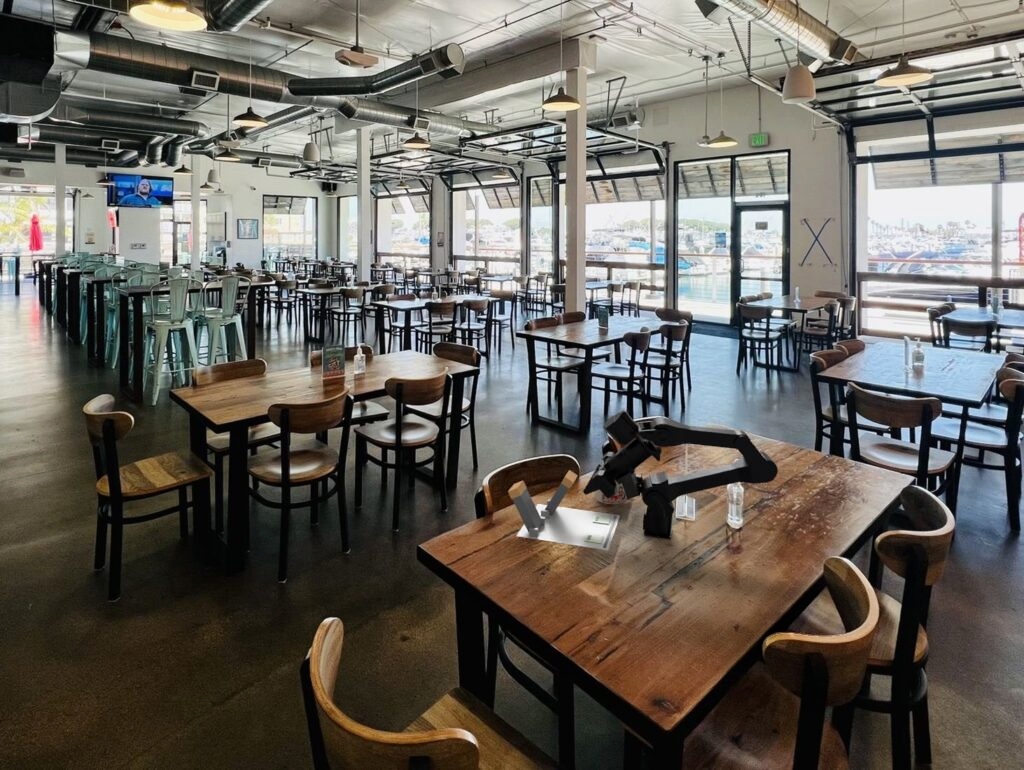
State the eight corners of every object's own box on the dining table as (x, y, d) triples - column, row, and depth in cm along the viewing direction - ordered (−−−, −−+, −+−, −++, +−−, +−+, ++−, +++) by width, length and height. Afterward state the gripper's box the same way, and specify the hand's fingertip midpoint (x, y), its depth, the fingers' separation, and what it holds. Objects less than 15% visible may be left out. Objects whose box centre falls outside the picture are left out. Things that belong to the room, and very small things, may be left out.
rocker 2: (556, 508, 169) (577, 475, 165) (551, 516, 164) (573, 482, 160) (548, 502, 169) (569, 469, 165) (543, 510, 164) (564, 476, 160)
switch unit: (619, 520, 166) (620, 508, 165) (607, 556, 148) (608, 542, 147) (537, 509, 172) (537, 496, 172) (516, 541, 154) (516, 528, 153)
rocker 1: (542, 520, 158) (523, 480, 158) (537, 529, 154) (517, 488, 153) (533, 524, 159) (514, 483, 159) (528, 532, 154) (507, 491, 154)
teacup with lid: (600, 510, 172) (602, 469, 169) (588, 497, 181) (590, 458, 178) (641, 507, 175) (644, 466, 172) (627, 494, 184) (629, 455, 181)
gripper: (649, 495, 148) (599, 532, 154) (656, 468, 165) (611, 503, 171) (617, 459, 148) (568, 497, 154) (627, 436, 166) (583, 471, 171)
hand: (584, 493), depth 163 cm, fingers closed
